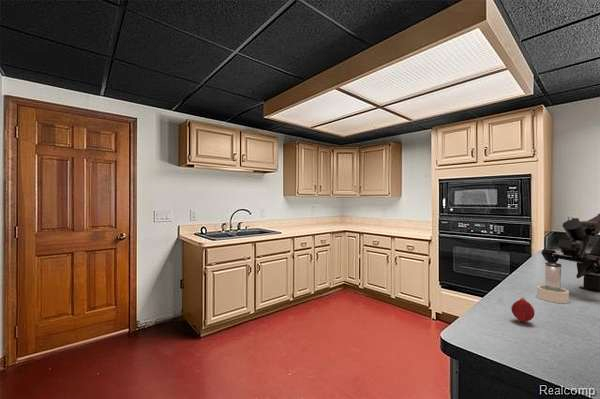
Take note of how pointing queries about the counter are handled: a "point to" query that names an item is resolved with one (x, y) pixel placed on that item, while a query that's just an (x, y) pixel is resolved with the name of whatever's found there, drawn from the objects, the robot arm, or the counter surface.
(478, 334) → the counter surface
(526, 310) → the onion
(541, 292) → the bowl
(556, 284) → the canister
